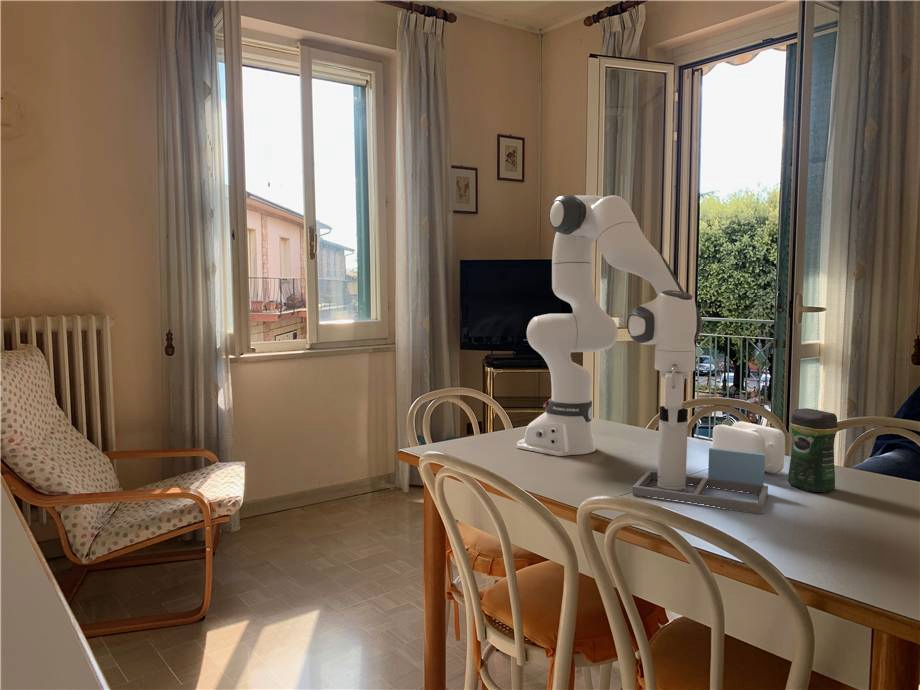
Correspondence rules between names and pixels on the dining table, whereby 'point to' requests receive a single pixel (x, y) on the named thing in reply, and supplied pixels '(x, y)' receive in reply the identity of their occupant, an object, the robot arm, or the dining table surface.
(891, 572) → the dining table surface
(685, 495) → the rack
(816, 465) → the coffee jar
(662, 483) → the travel mug
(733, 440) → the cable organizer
